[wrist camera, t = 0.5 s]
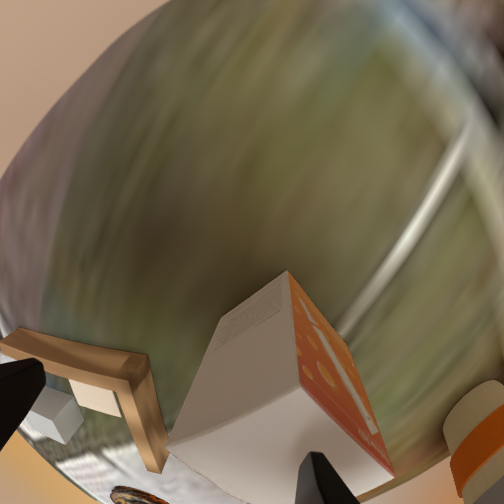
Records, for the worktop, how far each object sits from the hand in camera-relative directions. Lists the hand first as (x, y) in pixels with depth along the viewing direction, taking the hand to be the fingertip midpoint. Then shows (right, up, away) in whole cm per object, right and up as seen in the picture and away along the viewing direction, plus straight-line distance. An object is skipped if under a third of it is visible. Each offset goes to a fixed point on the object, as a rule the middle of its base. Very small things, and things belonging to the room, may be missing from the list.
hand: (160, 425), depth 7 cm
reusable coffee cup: (+28, -13, +15) cm, 35 cm away
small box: (+5, -1, +14) cm, 15 cm away
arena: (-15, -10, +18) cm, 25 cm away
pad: (-14, -9, +18) cm, 24 cm away
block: (-21, -13, +19) cm, 31 cm away
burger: (-14, -36, +24) cm, 45 cm away
